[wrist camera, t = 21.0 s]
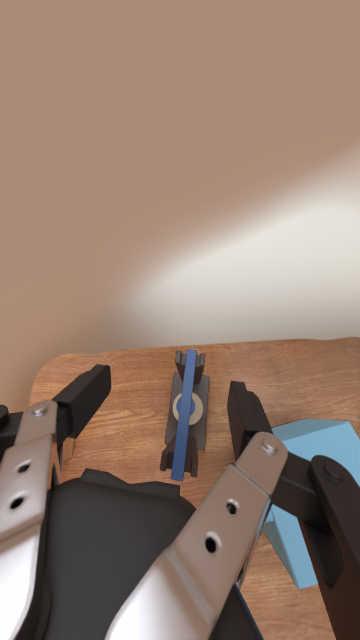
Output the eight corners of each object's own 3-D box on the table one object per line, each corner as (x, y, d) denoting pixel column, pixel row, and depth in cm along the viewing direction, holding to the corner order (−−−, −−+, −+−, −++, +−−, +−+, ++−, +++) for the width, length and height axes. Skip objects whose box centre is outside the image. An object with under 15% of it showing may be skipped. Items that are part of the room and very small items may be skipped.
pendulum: (166, 451, 28) (151, 475, 18) (178, 367, 34) (172, 347, 23) (199, 457, 28) (203, 486, 17) (205, 371, 33) (212, 351, 23)
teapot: (241, 528, 27) (281, 623, 15) (216, 442, 32) (231, 460, 20) (374, 486, 29) (512, 542, 16) (331, 409, 34) (411, 408, 21)
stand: (165, 443, 33) (142, 469, 18) (175, 373, 38) (163, 347, 23) (204, 449, 32) (215, 483, 17) (208, 377, 37) (219, 353, 22)
